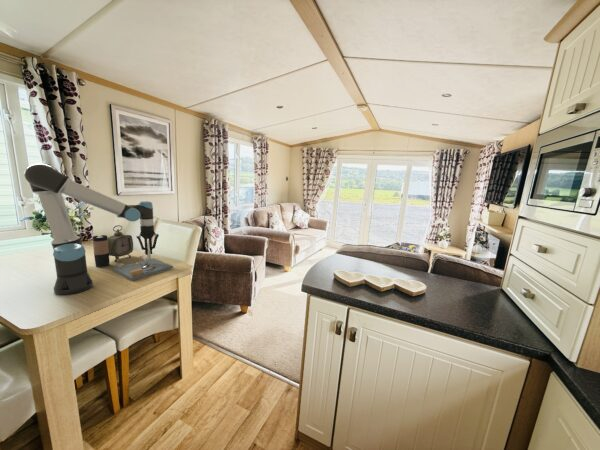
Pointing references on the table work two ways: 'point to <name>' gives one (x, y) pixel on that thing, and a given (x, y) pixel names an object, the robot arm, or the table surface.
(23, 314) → the table surface
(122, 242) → the tabletop clock
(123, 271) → the panel
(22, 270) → the table surface
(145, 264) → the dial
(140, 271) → the screwdriver
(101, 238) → the travel mug
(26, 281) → the table surface
